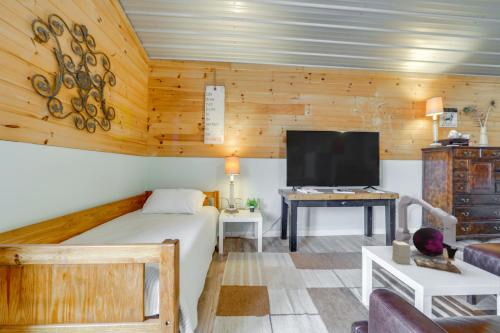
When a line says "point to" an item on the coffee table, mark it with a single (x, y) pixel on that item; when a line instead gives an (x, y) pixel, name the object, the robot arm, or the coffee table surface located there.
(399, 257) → the supplement box
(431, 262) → the pin board
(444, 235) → the robot arm
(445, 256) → the sleeve
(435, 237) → the decorative sphere
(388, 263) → the coffee table surface
